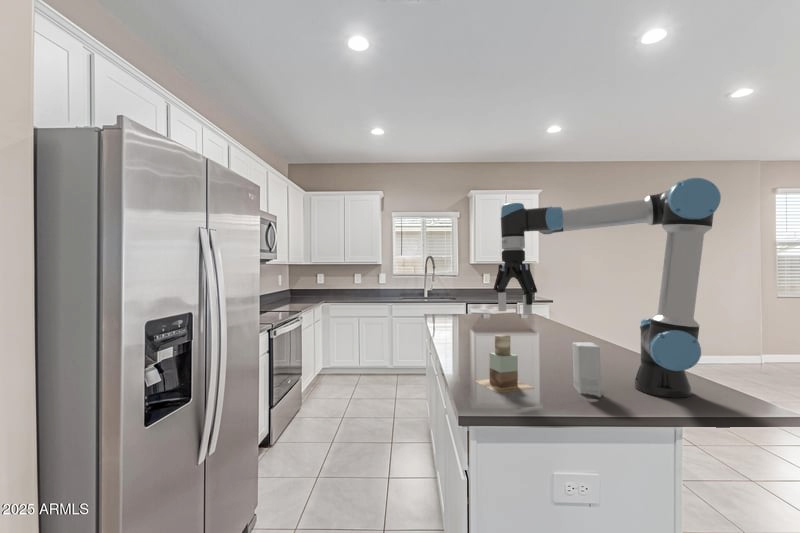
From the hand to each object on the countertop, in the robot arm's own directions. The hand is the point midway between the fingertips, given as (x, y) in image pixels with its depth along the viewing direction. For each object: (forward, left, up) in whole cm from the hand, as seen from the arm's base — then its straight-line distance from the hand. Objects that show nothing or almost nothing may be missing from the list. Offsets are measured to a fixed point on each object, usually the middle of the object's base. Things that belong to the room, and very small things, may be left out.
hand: (514, 313), depth 132 cm
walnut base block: (0, +5, -23) cm, 24 cm away
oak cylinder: (0, +5, -13) cm, 14 cm away
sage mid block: (0, +5, -18) cm, 19 cm away
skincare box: (-14, -16, -25) cm, 33 cm away
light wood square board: (0, +5, -24) cm, 25 cm away
